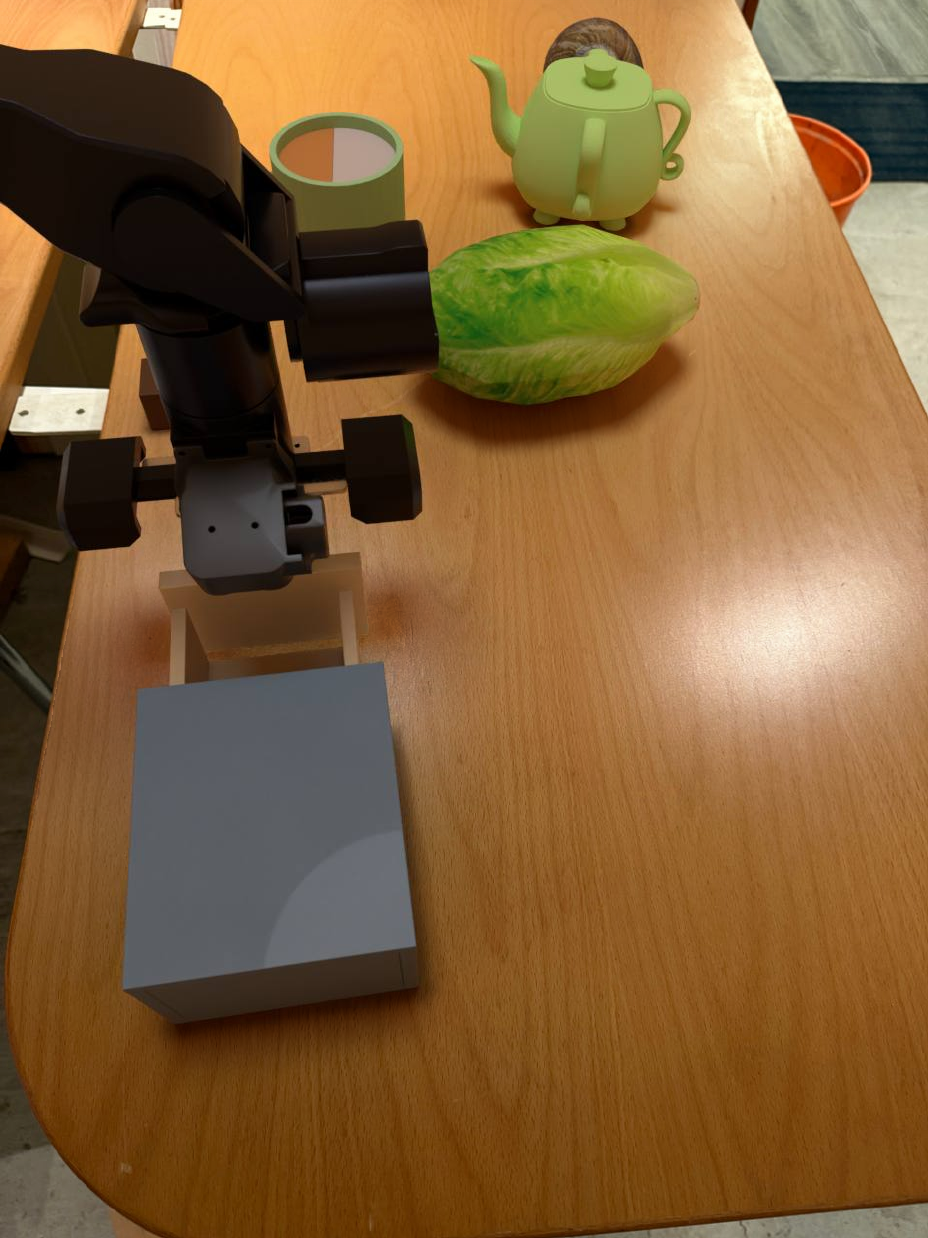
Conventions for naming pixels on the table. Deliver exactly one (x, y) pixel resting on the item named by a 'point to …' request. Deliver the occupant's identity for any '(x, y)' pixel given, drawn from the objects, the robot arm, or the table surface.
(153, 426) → the chocolate bar
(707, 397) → the table surface
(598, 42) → the seashell
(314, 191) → the mug
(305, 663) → the drawer
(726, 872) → the table surface
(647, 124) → the teapot
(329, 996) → the cabinet
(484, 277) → the lettuce
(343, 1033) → the table surface
